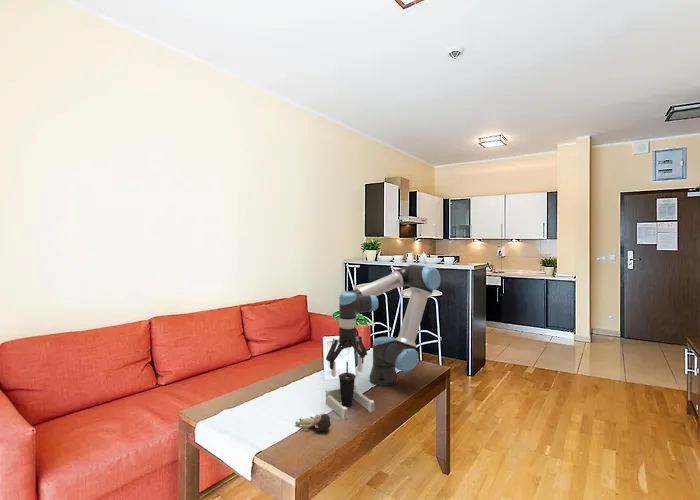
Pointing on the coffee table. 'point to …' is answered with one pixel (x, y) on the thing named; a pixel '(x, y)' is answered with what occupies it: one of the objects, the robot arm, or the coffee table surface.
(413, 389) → the coffee table surface
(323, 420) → the figurine
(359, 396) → the bay
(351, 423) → the coffee table surface
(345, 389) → the drinking cup
